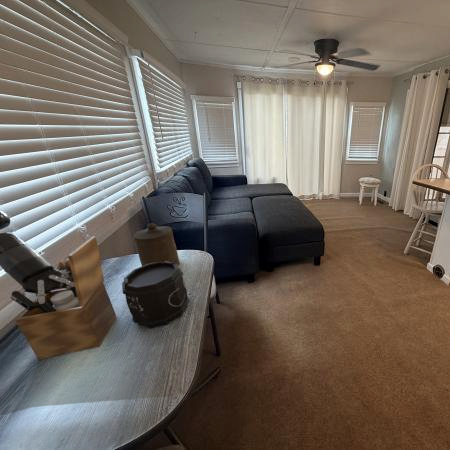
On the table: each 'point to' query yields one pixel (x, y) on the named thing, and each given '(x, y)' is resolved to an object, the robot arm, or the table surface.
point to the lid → (86, 270)
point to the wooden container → (156, 245)
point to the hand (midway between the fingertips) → (69, 305)
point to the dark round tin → (155, 294)
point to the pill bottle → (64, 300)
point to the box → (68, 325)
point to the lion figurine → (63, 265)
